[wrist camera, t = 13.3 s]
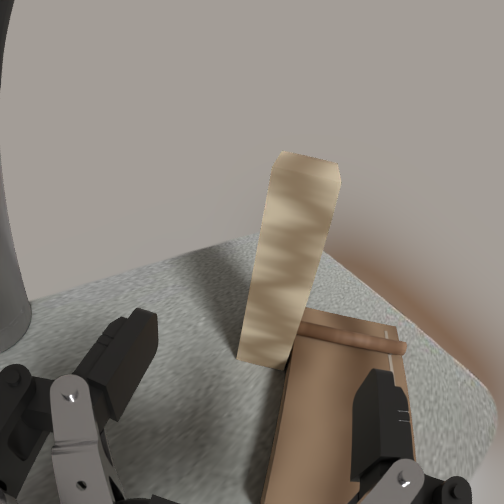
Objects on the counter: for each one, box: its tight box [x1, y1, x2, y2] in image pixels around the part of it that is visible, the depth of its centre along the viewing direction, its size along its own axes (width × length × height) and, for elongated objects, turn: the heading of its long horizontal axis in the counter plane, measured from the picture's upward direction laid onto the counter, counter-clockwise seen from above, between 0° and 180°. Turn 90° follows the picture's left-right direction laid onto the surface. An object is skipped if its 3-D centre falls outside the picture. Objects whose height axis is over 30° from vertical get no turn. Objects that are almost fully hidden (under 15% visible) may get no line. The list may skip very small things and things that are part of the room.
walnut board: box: [260, 307, 416, 504], centre depth 22 cm, size 10×19×2 cm, turn 168°
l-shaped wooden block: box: [236, 151, 407, 371], centre depth 23 cm, size 14×5×16 cm, turn 78°
